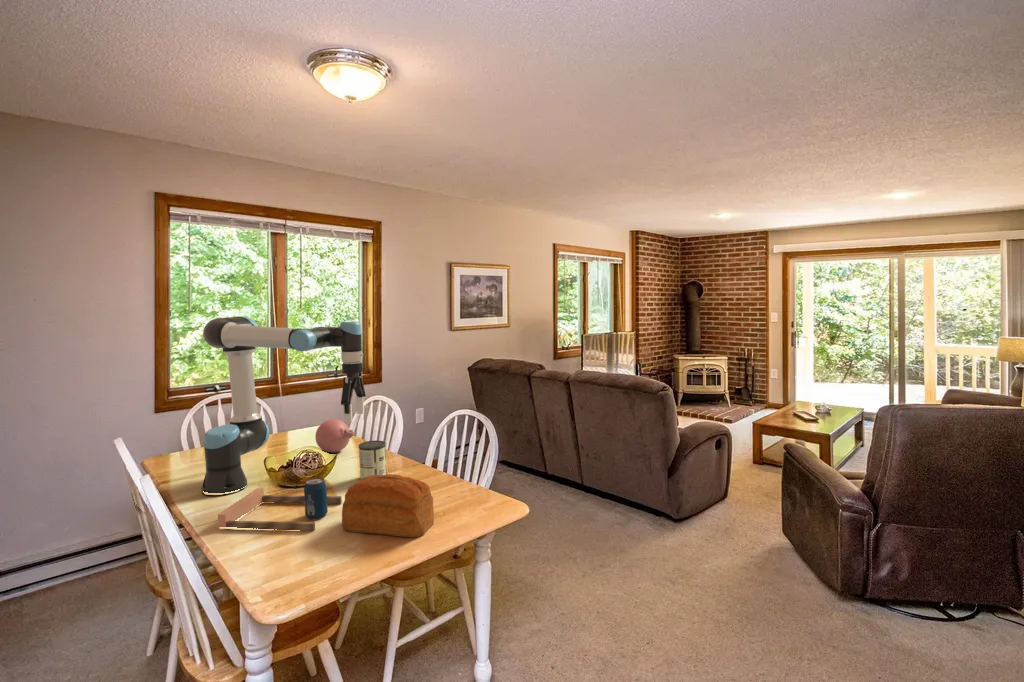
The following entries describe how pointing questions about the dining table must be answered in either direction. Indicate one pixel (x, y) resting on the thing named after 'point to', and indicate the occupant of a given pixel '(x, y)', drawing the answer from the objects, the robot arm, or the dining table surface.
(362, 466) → the coffee can
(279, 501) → the walnut lane
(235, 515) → the end stop
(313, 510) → the soda can
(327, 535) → the dining table surface
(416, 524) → the bread
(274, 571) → the dining table surface
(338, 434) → the pink party balloon
